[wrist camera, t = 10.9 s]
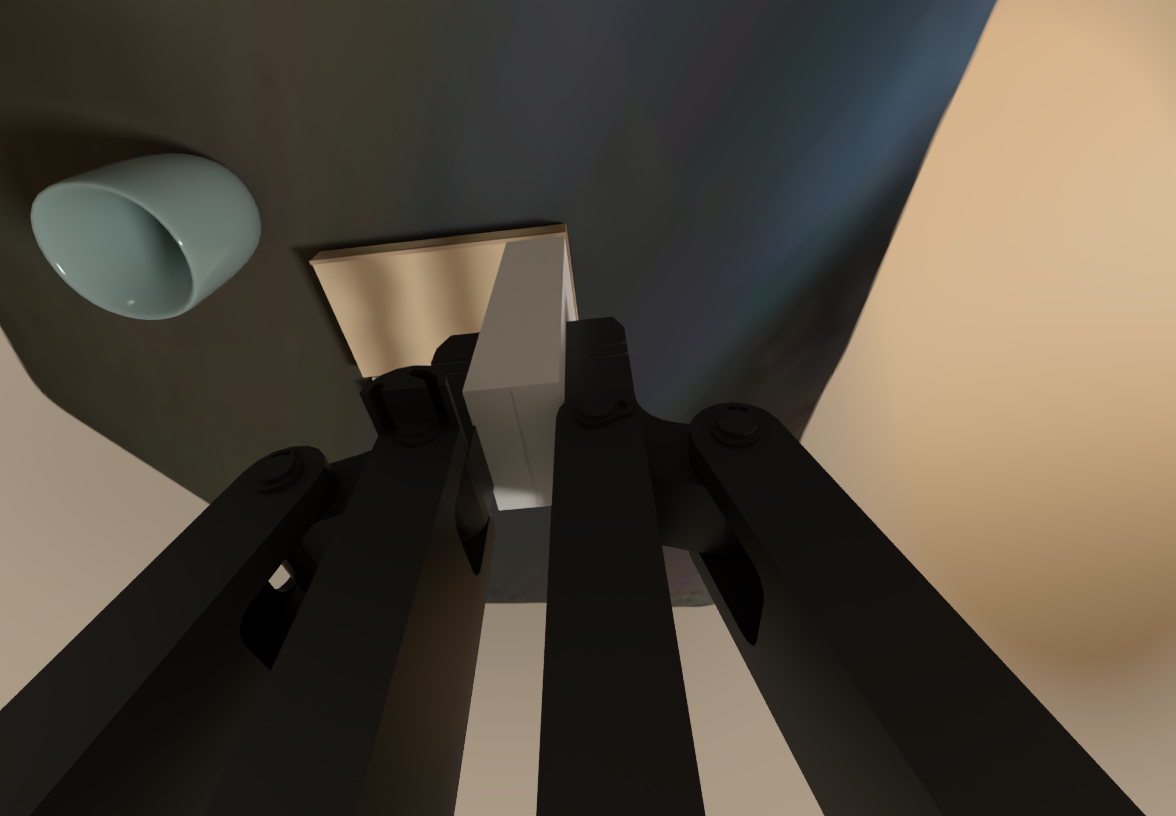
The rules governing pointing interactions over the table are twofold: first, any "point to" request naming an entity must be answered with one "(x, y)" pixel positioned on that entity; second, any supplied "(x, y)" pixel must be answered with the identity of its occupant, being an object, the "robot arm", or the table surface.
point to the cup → (148, 232)
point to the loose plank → (415, 293)
